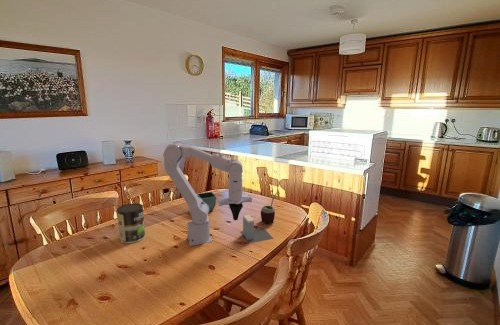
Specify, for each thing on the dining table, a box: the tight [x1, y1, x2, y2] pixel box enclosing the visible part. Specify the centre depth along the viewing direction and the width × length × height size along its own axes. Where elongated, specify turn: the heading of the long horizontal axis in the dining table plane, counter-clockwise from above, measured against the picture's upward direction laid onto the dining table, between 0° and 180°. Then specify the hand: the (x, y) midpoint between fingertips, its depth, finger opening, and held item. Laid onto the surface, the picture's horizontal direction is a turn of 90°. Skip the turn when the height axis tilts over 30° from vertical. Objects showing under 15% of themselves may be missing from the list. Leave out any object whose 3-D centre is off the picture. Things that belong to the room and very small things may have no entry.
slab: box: [242, 214, 255, 240], centre depth 115 cm, size 3×6×9 cm, turn 21°
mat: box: [239, 227, 275, 244], centre depth 117 cm, size 12×11×1 cm
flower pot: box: [196, 191, 217, 212], centre depth 143 cm, size 9×9×9 cm
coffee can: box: [116, 202, 146, 244], centre depth 112 cm, size 10×10×14 cm
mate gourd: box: [260, 192, 278, 225], centre depth 129 cm, size 8×8×15 cm
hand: (235, 219), depth 111 cm, fingers closed
